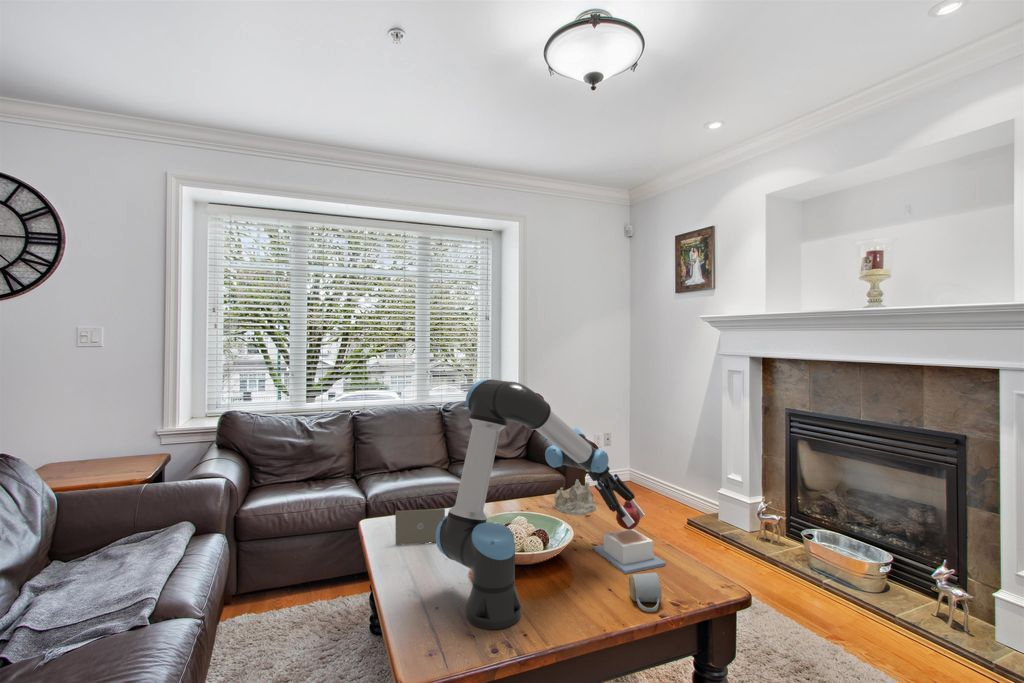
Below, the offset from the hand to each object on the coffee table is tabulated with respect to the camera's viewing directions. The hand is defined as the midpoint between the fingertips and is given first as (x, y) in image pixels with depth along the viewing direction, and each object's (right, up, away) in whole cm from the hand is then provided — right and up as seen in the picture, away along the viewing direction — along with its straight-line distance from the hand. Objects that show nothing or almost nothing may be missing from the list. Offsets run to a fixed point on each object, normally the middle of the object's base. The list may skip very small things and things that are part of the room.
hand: (637, 520), depth 171 cm
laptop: (-77, -14, +20) cm, 81 cm away
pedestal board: (-3, -13, +2) cm, 14 cm away
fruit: (-3, -4, +2) cm, 5 cm away
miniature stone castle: (-15, -13, +51) cm, 55 cm away
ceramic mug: (-4, -14, -27) cm, 31 cm away
